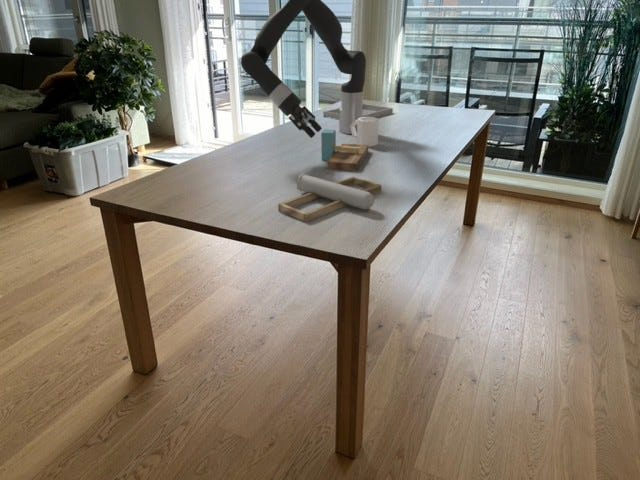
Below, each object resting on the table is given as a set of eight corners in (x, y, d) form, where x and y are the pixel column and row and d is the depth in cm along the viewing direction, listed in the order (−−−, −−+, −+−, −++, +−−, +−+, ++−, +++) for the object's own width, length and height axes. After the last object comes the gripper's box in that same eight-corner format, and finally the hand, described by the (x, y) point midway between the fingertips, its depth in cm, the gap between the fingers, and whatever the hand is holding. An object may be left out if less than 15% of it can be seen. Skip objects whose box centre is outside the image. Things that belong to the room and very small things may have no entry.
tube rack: (278, 210, 131) (278, 204, 130) (353, 182, 150) (353, 176, 149) (306, 222, 124) (306, 215, 123) (381, 191, 143) (381, 184, 142)
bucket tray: (323, 116, 239) (323, 111, 238) (361, 107, 257) (361, 103, 256) (355, 122, 225) (355, 117, 224) (392, 113, 244) (392, 108, 243)
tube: (379, 193, 129) (309, 174, 143) (369, 192, 125) (298, 172, 139) (375, 212, 130) (306, 191, 144) (364, 211, 126) (294, 190, 140)
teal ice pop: (321, 160, 172) (321, 132, 168) (325, 156, 177) (324, 129, 172) (358, 162, 169) (359, 134, 165) (361, 158, 174) (361, 131, 169)
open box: (327, 168, 163) (327, 161, 162) (342, 150, 184) (342, 143, 183) (356, 170, 161) (356, 163, 160) (368, 151, 181) (368, 144, 180)
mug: (381, 142, 193) (382, 118, 188) (370, 147, 186) (371, 122, 182) (356, 138, 199) (356, 114, 194) (344, 143, 193) (345, 118, 188)
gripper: (285, 95, 161) (318, 130, 163) (298, 88, 173) (328, 121, 175) (271, 110, 164) (304, 145, 167) (284, 103, 177) (315, 135, 179)
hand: (316, 133), depth 171 cm, fingers open, 8 cm apart
